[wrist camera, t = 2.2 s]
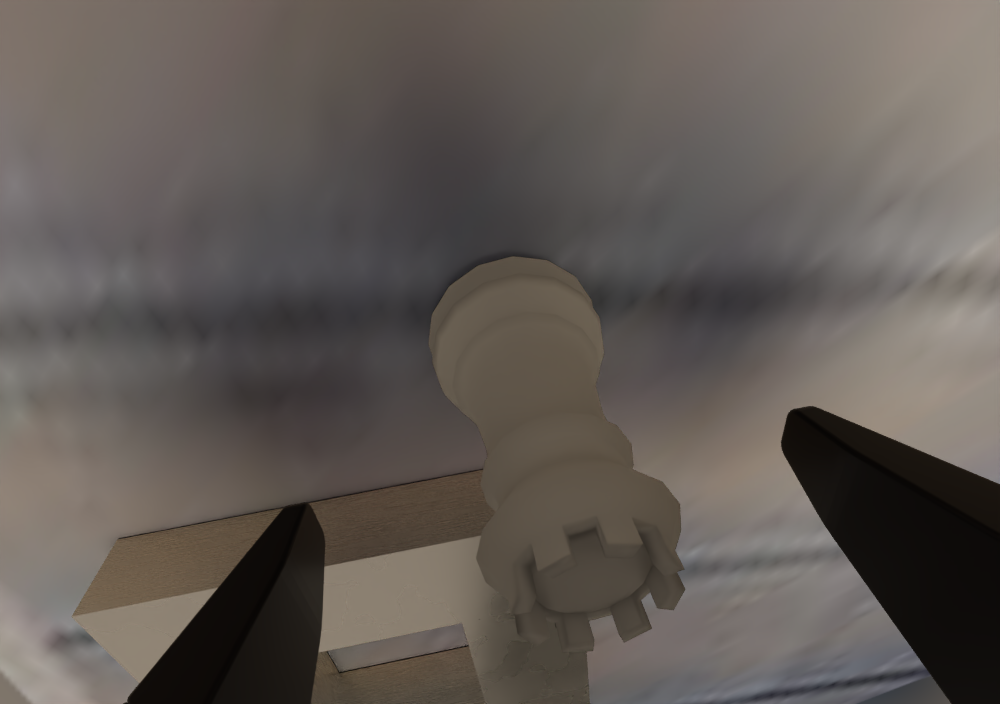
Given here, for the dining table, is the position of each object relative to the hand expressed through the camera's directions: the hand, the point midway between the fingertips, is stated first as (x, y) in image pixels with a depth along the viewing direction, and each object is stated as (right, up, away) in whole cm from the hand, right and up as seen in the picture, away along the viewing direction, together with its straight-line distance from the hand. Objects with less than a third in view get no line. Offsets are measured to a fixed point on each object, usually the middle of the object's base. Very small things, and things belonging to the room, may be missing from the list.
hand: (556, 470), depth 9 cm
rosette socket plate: (-5, -8, +11) cm, 14 cm away
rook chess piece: (-1, +3, +5) cm, 6 cm away
